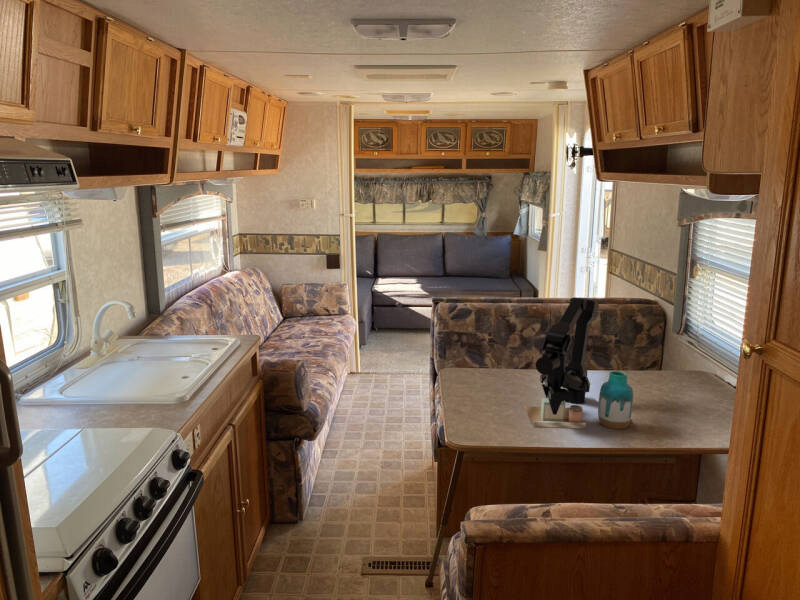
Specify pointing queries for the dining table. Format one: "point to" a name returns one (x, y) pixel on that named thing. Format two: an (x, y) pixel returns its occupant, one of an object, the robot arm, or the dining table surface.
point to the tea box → (547, 412)
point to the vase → (615, 401)
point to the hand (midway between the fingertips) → (552, 410)
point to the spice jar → (575, 413)
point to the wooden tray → (536, 421)
